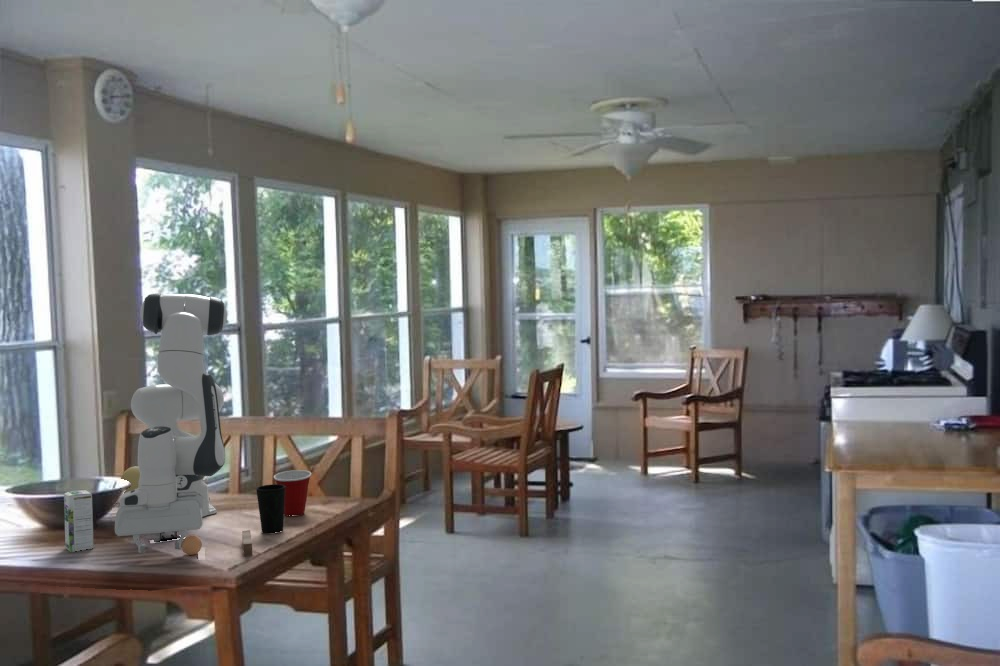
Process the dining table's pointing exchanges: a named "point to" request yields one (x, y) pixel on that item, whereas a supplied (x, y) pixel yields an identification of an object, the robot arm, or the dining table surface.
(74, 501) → the syrup box
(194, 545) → the ball
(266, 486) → the cup
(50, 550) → the dining table surface
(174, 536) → the black rectangular container
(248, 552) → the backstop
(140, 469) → the robot arm
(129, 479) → the pale yellow round toy
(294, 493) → the plastic cup
